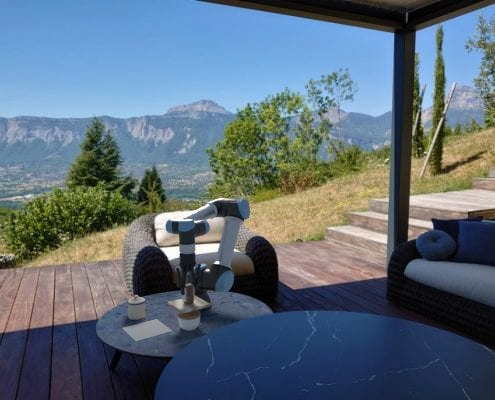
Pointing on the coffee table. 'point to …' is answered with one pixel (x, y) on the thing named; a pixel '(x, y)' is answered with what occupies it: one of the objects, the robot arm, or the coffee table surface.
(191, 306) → the board
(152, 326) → the mat
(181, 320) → the lidded jar
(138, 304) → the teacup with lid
